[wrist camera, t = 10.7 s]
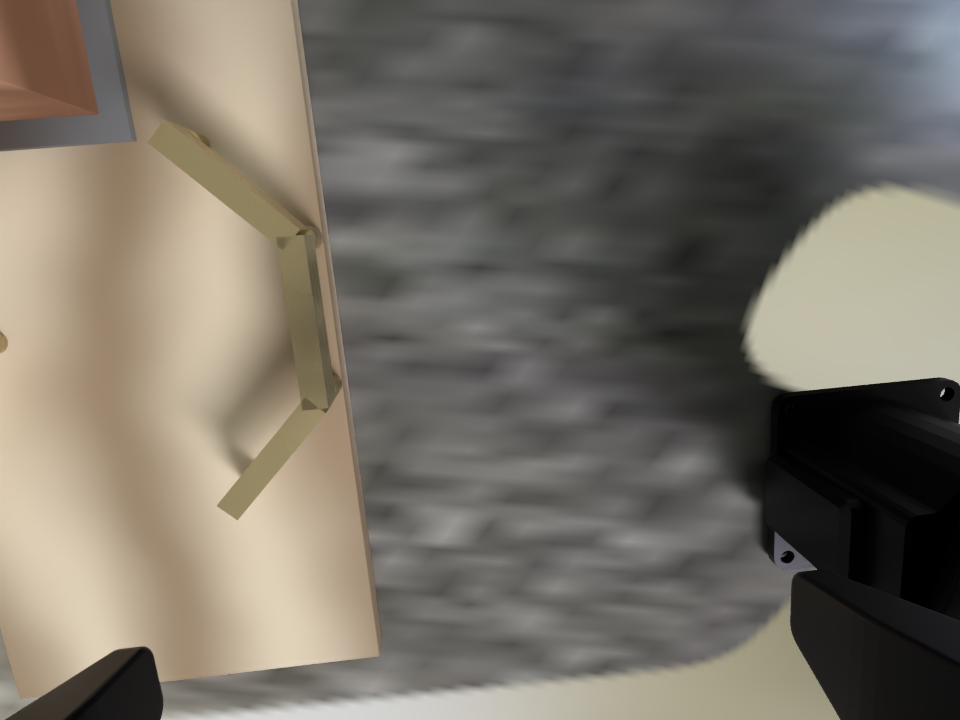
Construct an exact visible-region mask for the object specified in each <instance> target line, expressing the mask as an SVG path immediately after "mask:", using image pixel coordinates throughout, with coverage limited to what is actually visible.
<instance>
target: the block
mask: <svg viewBox="0 0 960 720" xmlns="http://www.w3.org/2000/svg"><path fill="white" fill-rule="evenodd" d="M97 114H99V112H98V107H97V102H96V97H95V92H94V87H93V82H92V77H91V72H90V67H89V62H88V57H87V52H86V47H85V42H84V37H83V32H82V27H81V22H80V17H79V12H78V7H77V2H76V0H0V121H9V120H24V119H39V118H53V117H68V116H82V115H97Z"/></svg>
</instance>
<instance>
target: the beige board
mask: <svg viewBox="0 0 960 720" xmlns="http://www.w3.org/2000/svg"><path fill="white" fill-rule="evenodd" d="M76 2H77V7H78V12H79V17H80V22H81V27H82V32H83V37H84V42H85V47H86V52H87V57H88V62H89V67H90V72H91V77H92V82H93V87H94V92H95V97H96V102H97V107H98V112H99V114H97V115H82V116H68V117H53V118H39V119H24V120H9V121H0V332H1V333H3V334H4V335H5V336H6V338H7V340H8V347H7V349H6V350H5V351H4V352H2V353H0V630H1V633H2V637H3V640H4V644H5V647H6V651H7V654H8V658H9V661H10V665H11V668H12V672H13V675H14V679H15V682H16V686H17V689H18V693H19V696H20V699H21V698H30V697H38V696H43V695H45V694H46V693H48V692H50V691H51V690H53V689H54V688H56V687H57V686H59V685H61V684H62V683H64V682H65V681H67V680H68V679H70V678H72V677H73V676H75V675H76V674H78V673H79V672H81V671H83V670H84V669H86V668H87V667H89V666H90V665H92V664H94V663H95V662H97V661H98V660H100V659H102V658H103V657H105V656H106V655H108V654H109V653H111V652H113V651H114V650H117V649H122V648H131V647H140V646H146V647H148V648H149V649H151V651H152V652H153V655H154V659H155V663H156V668H157V672H158V677H159V681H160V682H165V681H173V680H182V679H190V678H199V677H207V676H216V675H224V674H232V673H241V672H249V671H258V670H266V669H275V668H283V667H292V666H300V665H308V664H317V663H325V662H334V661H342V660H351V659H359V658H368V657H376V656H379V653H380V646H381V639H382V635H381V627H380V620H379V612H378V605H377V597H376V590H375V582H374V575H373V567H372V560H371V552H370V545H369V537H368V530H367V522H366V514H365V507H364V499H363V492H362V484H361V477H360V469H359V462H358V454H357V447H356V439H355V432H354V424H353V416H352V409H351V401H350V394H349V386H348V379H347V371H346V364H345V356H344V349H343V341H342V334H341V326H340V318H339V311H338V303H337V296H336V288H335V281H334V273H333V266H332V258H331V251H330V243H329V236H328V228H327V220H326V213H325V205H324V198H323V190H322V183H321V175H320V168H319V160H318V153H317V145H316V138H315V130H314V122H313V115H312V107H311V100H310V92H309V85H308V77H307V70H306V62H305V55H304V47H303V40H302V32H301V24H300V17H299V9H298V2H297V0H76ZM164 119H165V120H167V121H170V122H172V123H175V124H177V125H179V126H182V127H185V128H187V129H190V130H192V131H194V132H197V133H199V134H202V135H204V136H205V137H206V138H207V139H208V141H209V143H210V149H212V150H213V151H214V152H215V153H216V154H218V155H219V156H220V157H221V158H223V159H224V160H225V161H226V162H227V163H229V164H230V165H231V166H232V167H234V168H235V169H236V170H237V171H239V172H240V173H241V174H242V175H243V176H245V177H246V178H247V179H248V180H250V181H251V182H252V183H253V184H254V185H256V186H257V187H258V188H259V189H261V190H262V191H263V192H264V193H266V194H267V195H268V196H269V197H270V198H272V199H273V200H274V201H275V202H277V203H278V204H279V205H280V206H282V207H283V208H284V209H285V210H286V211H288V212H289V213H290V214H291V215H293V216H294V217H295V218H296V219H297V220H299V221H300V222H301V223H302V224H304V225H305V226H313V227H316V228H317V229H319V230H320V232H321V233H322V236H323V241H322V244H321V246H320V247H319V248H318V249H316V257H317V265H318V272H319V279H320V286H321V294H322V301H323V308H324V315H325V323H326V330H327V337H328V344H329V352H330V359H331V366H332V373H335V374H337V375H338V376H339V377H340V378H341V380H342V388H341V390H340V392H339V393H338V395H337V396H336V398H335V400H334V401H333V403H332V405H331V406H330V408H329V410H328V411H327V413H326V414H325V415H324V417H323V418H322V419H321V420H320V421H319V423H318V424H317V425H316V426H315V427H314V429H313V430H312V431H311V432H310V433H309V435H308V436H307V437H306V438H305V440H304V441H303V442H302V443H301V444H300V446H299V447H298V448H297V449H296V450H295V452H294V453H293V454H292V455H291V456H290V458H289V459H288V460H287V461H286V463H285V464H284V465H283V466H282V467H281V469H280V470H279V471H278V472H277V473H276V475H275V476H274V477H273V478H272V479H271V481H270V482H269V483H268V484H267V485H266V487H265V488H264V489H263V490H262V492H261V493H260V494H259V495H258V496H257V498H256V499H255V500H254V501H253V502H252V504H251V505H250V506H249V507H248V508H247V510H246V511H245V512H244V513H243V514H242V516H241V517H240V518H239V519H238V520H236V519H235V518H233V517H232V516H230V515H229V514H227V513H226V512H224V511H223V510H222V509H220V508H219V507H217V505H218V503H219V502H220V501H221V500H222V498H223V497H224V496H225V495H226V493H227V492H228V491H229V490H230V488H231V487H232V486H233V485H234V484H235V482H236V481H237V480H238V479H239V477H240V476H241V475H242V474H243V472H244V471H245V470H246V469H247V468H248V466H249V465H250V464H251V463H252V462H253V460H254V459H255V458H256V457H257V456H258V454H259V453H260V452H261V451H262V449H263V448H264V447H265V446H266V445H267V443H268V442H269V441H270V440H271V438H272V437H273V436H274V435H275V434H276V432H277V431H278V430H279V429H280V427H281V426H282V425H283V424H284V423H285V421H286V420H287V419H288V418H289V416H290V415H291V414H292V413H293V412H294V410H295V409H296V408H297V407H298V405H299V404H300V403H301V400H300V393H299V386H298V380H297V373H296V367H295V360H294V353H293V347H292V340H291V334H290V327H289V320H288V314H287V307H286V300H285V294H284V287H283V281H282V274H281V267H280V261H279V254H278V247H277V245H275V244H274V243H273V242H272V241H270V240H269V239H268V238H267V237H265V236H264V235H263V234H262V233H260V232H259V231H258V230H257V229H255V228H254V227H253V226H252V225H250V224H249V223H248V222H247V221H245V220H244V219H243V218H241V217H240V216H239V215H238V214H236V213H235V212H234V211H233V210H231V209H230V208H229V207H228V206H226V205H225V204H224V203H223V202H221V201H220V200H219V199H218V198H216V197H215V196H214V195H213V194H211V193H210V192H209V191H208V190H206V189H205V188H204V187H203V186H201V185H200V184H199V183H198V182H196V181H195V180H194V179H193V178H191V177H190V176H189V175H188V174H186V173H185V172H184V171H183V170H181V169H180V168H179V167H178V166H176V165H175V164H174V163H173V162H171V161H170V160H169V159H168V158H166V157H165V156H164V155H163V154H161V153H160V152H159V151H158V150H156V149H155V148H154V147H153V146H151V145H150V144H149V143H148V141H149V140H150V138H151V137H152V135H153V134H154V133H155V131H156V130H157V129H158V127H159V126H160V125H161V123H162V122H163V120H164Z"/></svg>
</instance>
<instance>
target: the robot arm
mask: <svg viewBox="0 0 960 720" xmlns="http://www.w3.org/2000/svg"><path fill="white" fill-rule="evenodd" d="M944 388H945V392H944V395H943V396H942V397H940V394H941V391H942V390H943V389H944ZM790 403H792V405H793V407H792V410H791V411H790V412H789V413H787V414H785V408H786V406H787V405H788V404H790ZM959 411H960V386H959V384H958V383H957V382H955V381H953V380H949V379H946V378H930V379H920V380H910V381H901V382H890V383H880V384H869V385H859V386H850V387H839V388H830V389H820V390H809V391H799V392H789V393H784V394H780V395H779V396H778V397H776V398H775V400H774V401H773V403H772V408H771V448H770V455H769V457H768V458H767V461H766V506H765V522H766V524H767V525H768V526H769V535H768V555H769V558H770V559H771V561H772V562H773V563H774V564H775V565H776V566H777V567H779V568H781V569H786V570H788V569H797V568H805V567H815V568H817V569H818V570H813V571H804V572H798V573H797V574H795V575H794V577H793V579H792V587H791V616H790V623H791V624H790V625H791V631H792V634H793V637H794V640H795V642H796V644H797V645H798V647H799V649H800V651H801V652H802V654H803V656H804V658H805V659H806V661H807V663H808V665H809V666H810V668H811V670H812V671H813V673H814V675H815V677H816V678H817V680H818V682H819V683H820V685H821V687H822V689H823V690H824V692H825V694H826V696H827V697H828V699H829V701H830V703H831V704H832V706H833V708H834V709H835V711H836V713H837V715H838V716H839V718H840V720H960V424H958V423H959ZM785 551H788V553H787V555H786V556H784V557H782V558H781V555H782V554H783V553H784V552H785ZM162 711H163V694H162V690H161V685H160V681H159V677H158V672H157V668H156V663H155V659H154V655H153V652H152V651H151V649H149V648H148V647H146V646H140V647H131V648H122V649H117V650H114V651H113V652H111V653H109V654H108V655H106V656H105V657H103V658H102V659H100V660H98V661H97V662H95V663H94V664H92V665H90V666H89V667H87V668H86V669H84V670H83V671H81V672H79V673H78V674H76V675H75V676H73V677H72V678H70V679H68V680H67V681H65V682H64V683H62V684H61V685H59V686H57V687H56V688H54V689H53V690H51V691H50V692H48V693H46V694H45V695H43V696H42V697H40V698H39V699H37V700H35V701H34V702H32V703H31V704H29V705H28V706H26V707H24V708H23V709H21V710H20V711H18V712H16V713H15V714H13V715H12V716H10V717H9V718H7V719H5V720H160V719H161V716H162Z"/></svg>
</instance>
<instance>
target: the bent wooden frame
mask: <svg viewBox="0 0 960 720" xmlns="http://www.w3.org/2000/svg"><path fill="white" fill-rule="evenodd" d="M148 143H149V144H150V145H151V146H153V147H154V148H155V149H156V150H158V151H159V152H160V153H161V154H163V155H164V156H165V157H166V158H168V159H169V160H170V161H171V162H173V163H174V164H175V165H176V166H178V167H179V168H180V169H181V170H183V171H184V172H185V173H186V174H188V175H189V176H190V177H191V178H193V179H194V180H195V181H196V182H198V183H199V184H200V185H201V186H203V187H204V188H205V189H206V190H208V191H209V192H210V193H211V194H213V195H214V196H215V197H216V198H218V199H219V200H220V201H221V202H223V203H224V204H225V205H226V206H228V207H229V208H230V209H231V210H233V211H234V212H235V213H236V214H238V215H239V216H240V217H241V218H243V219H244V220H245V221H247V222H248V223H249V224H250V225H252V226H253V227H254V228H255V229H257V230H258V231H259V232H260V233H262V234H263V235H264V236H265V237H267V238H268V239H269V240H270V241H272V242H273V243H274V244H275V245H277V247H278V254H279V261H280V267H281V274H282V281H283V287H284V294H285V300H286V307H287V314H288V320H289V327H290V334H291V340H292V347H293V353H294V360H295V367H296V373H297V380H298V386H299V393H300V400H301V403H300V404H299V405H298V407H297V408H296V409H295V410H294V412H293V413H292V414H291V415H290V416H289V418H288V419H287V420H286V421H285V423H284V424H283V425H282V426H281V427H280V429H279V430H278V431H277V432H276V434H275V435H274V436H273V437H272V438H271V440H270V441H269V442H268V443H267V445H266V446H265V447H264V448H263V449H262V451H261V452H260V453H259V454H258V456H257V457H256V458H255V459H254V460H253V462H252V463H251V464H250V465H249V466H248V468H247V469H246V470H245V471H244V472H243V474H242V475H241V476H240V477H239V479H238V480H237V481H236V482H235V484H234V485H233V486H232V487H231V488H230V490H229V491H228V492H227V493H226V495H225V496H224V497H223V498H222V500H221V501H220V502H219V503H218V505H217V507H219V508H220V509H222V510H223V511H224V512H226V513H227V514H229V515H230V516H232V517H233V518H235V519H236V520H238V519H239V518H240V517H241V516H242V514H243V513H244V512H245V511H246V510H247V508H248V507H249V506H250V505H251V504H252V502H253V501H254V500H255V499H256V498H257V496H258V495H259V494H260V493H261V492H262V490H263V489H264V488H265V487H266V485H267V484H268V483H269V482H270V481H271V479H272V478H273V477H274V476H275V475H276V473H277V472H278V471H279V470H280V469H281V467H282V466H283V465H284V464H285V463H286V461H287V460H288V459H289V458H290V456H291V455H292V454H293V453H294V452H295V450H296V449H297V448H298V447H299V446H300V444H301V443H302V442H303V441H304V440H305V438H306V437H307V436H308V435H309V433H310V432H311V431H312V430H313V429H314V427H315V426H316V425H317V424H318V423H319V421H320V420H321V419H322V418H323V417H324V415H325V414H326V413H327V411H328V410H329V408H330V406H331V405H332V403H333V401H334V400H335V398H336V396H337V395H338V393H339V392H340V390H341V388H342V380H341V378H340V377H339V376H338V375H337V374H335V373H332V366H331V359H330V352H329V344H328V337H327V330H326V323H325V315H324V308H323V301H322V294H321V286H320V279H319V272H318V265H317V257H316V249H318V248H319V247H320V246H321V244H322V241H323V236H322V233H321V232H320V230H319V229H317V228H316V227H313V226H305V225H304V224H302V223H301V222H300V221H299V220H297V219H296V218H295V217H294V216H293V215H291V214H290V213H289V212H288V211H286V210H285V209H284V208H283V207H282V206H280V205H279V204H278V203H277V202H275V201H274V200H273V199H272V198H270V197H269V196H268V195H267V194H266V193H264V192H263V191H262V190H261V189H259V188H258V187H257V186H256V185H254V184H253V183H252V182H251V181H250V180H248V179H247V178H246V177H245V176H243V175H242V174H241V173H240V172H239V171H237V170H236V169H235V168H234V167H232V166H231V165H230V164H229V163H227V162H226V161H225V160H224V159H223V158H221V157H220V156H219V155H218V154H216V153H215V152H214V151H213V150H212V149H210V143H209V141H208V139H207V138H206V137H205V136H204V135H202V134H199V133H197V132H194V131H192V130H190V129H187V128H185V127H182V126H179V125H177V124H175V123H172V122H170V121H167V120H165V119H164V120H163V122H162V123H161V125H160V126H159V127H158V129H157V130H156V131H155V133H154V134H153V135H152V137H151V138H150V140H149V141H148ZM7 347H8V340H7V338H6V336H5V335H4V334H3V333H1V332H0V353H2V352H4V351H5V350H6V349H7Z"/></svg>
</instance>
